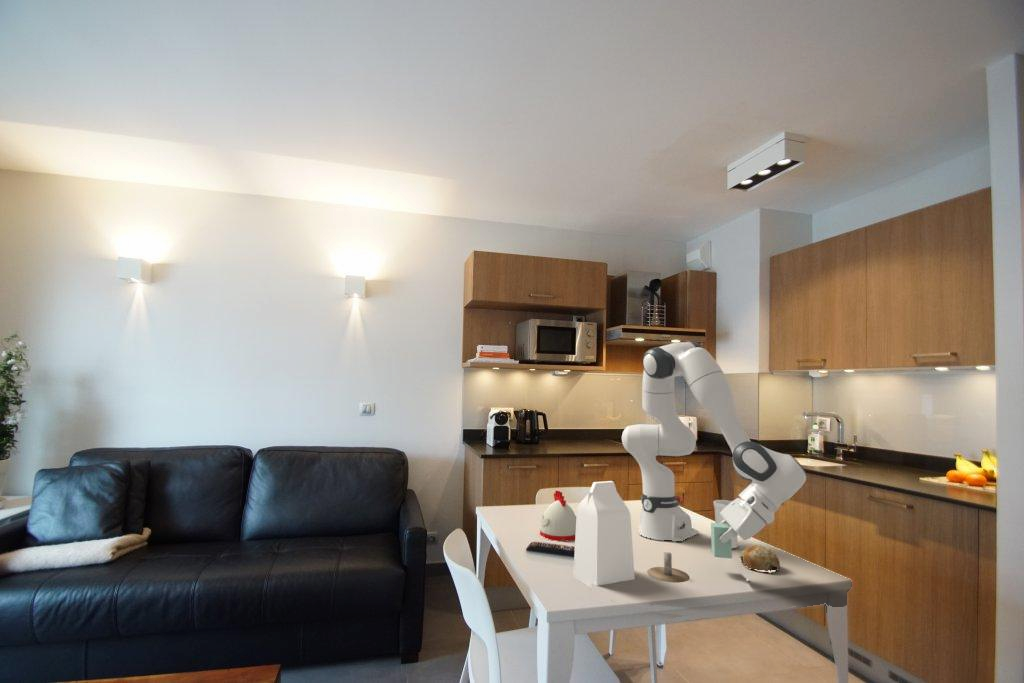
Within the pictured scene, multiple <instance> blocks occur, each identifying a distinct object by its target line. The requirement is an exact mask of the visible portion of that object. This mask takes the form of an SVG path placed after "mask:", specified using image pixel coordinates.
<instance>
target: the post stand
mask: <svg viewBox="0 0 1024 683" xmlns="http://www.w3.org/2000/svg"><path fill="white" fill-rule="evenodd" d="M672 562H673V559H672V553H671V552H668V551H665V552H663V566H655V567H649V569H648V570H646V573H647V575H648V576H649V577H651V578H652V579H654V580H658V581H661V582H666V583H675V584H676V583H685V582H686V581H688V580H690V575H689V574H688V573H687V572H685V571H682V570H681V569H677V568H674V567H673V566H672V565H673V564H672Z"/></svg>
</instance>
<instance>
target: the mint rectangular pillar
mask: <svg viewBox="0 0 1024 683" xmlns="http://www.w3.org/2000/svg"><path fill="white" fill-rule="evenodd" d="M729 528H730V526H729V525H728V524H722V523H715V522H710V537H711V540H710V541H711V544H710V545H711V553H712V555H713V557H714V558H722V559H733V548H732V541H731V539H730V540H728V541H727V542H726V543H723V542H722V541H721V540H720V539H719V536H720V535H721V534H722V533H723V534H724V533H725V532H726V531H728V529H729Z"/></svg>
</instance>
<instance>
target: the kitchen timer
mask: <svg viewBox="0 0 1024 683" xmlns="http://www.w3.org/2000/svg"><path fill="white" fill-rule="evenodd" d="M553 498H554V501H553V502H551V504H549V506H548V507H547V508H546V510H545V511H544V513H543V514H541V517H540V527H539V536H540V535H541V536H543V537H545V538H548V539H547V540H549V539H552V540H551V541H554V540H559V541H558V542H568V541H567V540H571V541H575V540H574V539H575V534H576V514H575V512H574V510H573V508H572V507H571V506H570V505H569V504H568V503H567V501H566V500H565V496H564V495H563V492H562V491H561V490H560V491H559V490H555V492H554V493H553ZM541 536H540V537H541ZM543 537H542V538H543ZM545 538H544V539H545ZM562 540H563V541H562Z"/></svg>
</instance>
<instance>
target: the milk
mask: <svg viewBox="0 0 1024 683" xmlns="http://www.w3.org/2000/svg"><path fill="white" fill-rule="evenodd" d="M575 516H576V534H575V540H574V558H573V577H574V578H576V579H577V580H579V582H582V584H584V585H586V586H587V587H589V588H590V589H592V586H593V585H594V586H596V587H597V586H604V585H609V584H610V585H611V584H613V583H614V584H615V583H620V582H627V581H632V580H636V578H635V566H634V565H635V564H634V550H633V549H634V548H633V534H632V533H633V532H632V517H631V512H630V509H629V508H628V506H627V504H626V503H625V502H624V500H623V499H622V497H621V495H620V494H619V493H618V491H617V488H616V484H615V482H614V481H612V480H606V481H594V482H592V484H591V486H590V490H589V492H588V493H587V494H586V495H585V497H584V498H583V499H582V500H581V501H580V502H579V504H578V505H577V507H576V514H575Z"/></svg>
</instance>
